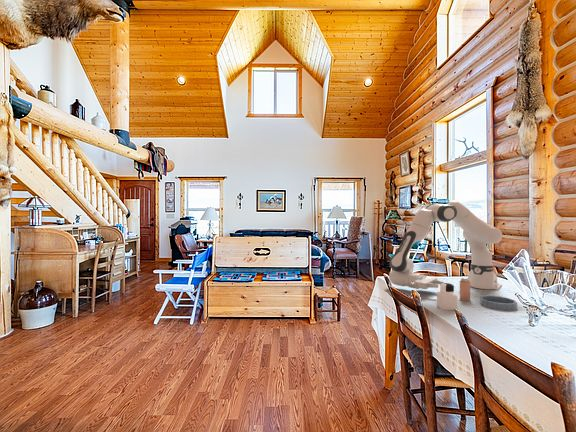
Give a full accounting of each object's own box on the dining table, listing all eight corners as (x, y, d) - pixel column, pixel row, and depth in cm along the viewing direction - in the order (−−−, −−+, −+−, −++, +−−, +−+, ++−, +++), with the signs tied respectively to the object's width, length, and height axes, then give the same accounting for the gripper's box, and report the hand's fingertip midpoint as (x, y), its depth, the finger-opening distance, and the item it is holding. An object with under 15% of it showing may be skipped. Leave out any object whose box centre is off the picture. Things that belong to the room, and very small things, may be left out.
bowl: (487, 299, 165) (487, 294, 165) (521, 306, 153) (521, 300, 153) (475, 304, 156) (475, 298, 156) (510, 312, 144) (510, 306, 144)
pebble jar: (462, 298, 168) (462, 277, 168) (471, 300, 164) (471, 278, 164) (457, 299, 165) (458, 278, 165) (467, 301, 161) (467, 280, 161)
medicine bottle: (451, 305, 154) (451, 282, 154) (457, 310, 147) (457, 285, 147) (436, 305, 155) (436, 282, 154) (442, 309, 147) (442, 285, 147)
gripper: (409, 278, 175) (434, 282, 165) (422, 273, 190) (446, 276, 180) (409, 289, 175) (434, 293, 165) (422, 283, 190) (446, 287, 180)
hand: (440, 284), depth 173 cm, fingers open, 8 cm apart
